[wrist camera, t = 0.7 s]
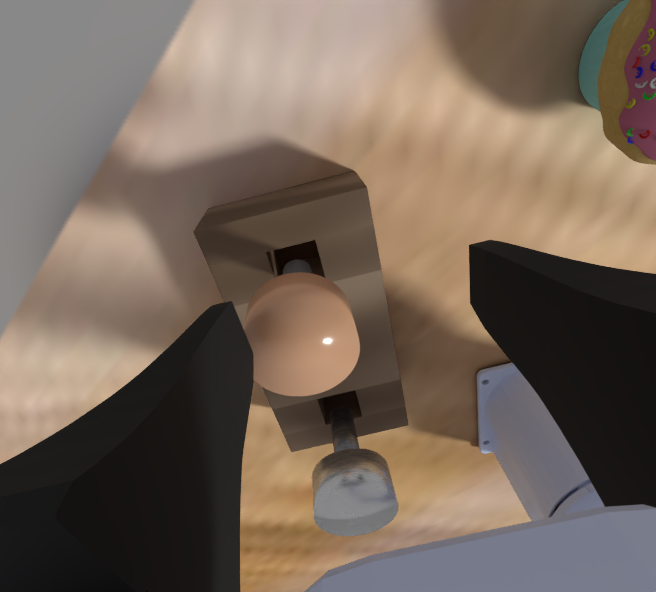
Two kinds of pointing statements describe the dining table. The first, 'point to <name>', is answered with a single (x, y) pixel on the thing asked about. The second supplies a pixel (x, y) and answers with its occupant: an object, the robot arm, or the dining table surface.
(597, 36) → the cupcake
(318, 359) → the terracotta plunger
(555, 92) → the dining table surface
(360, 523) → the grey plunger
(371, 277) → the brown piece
